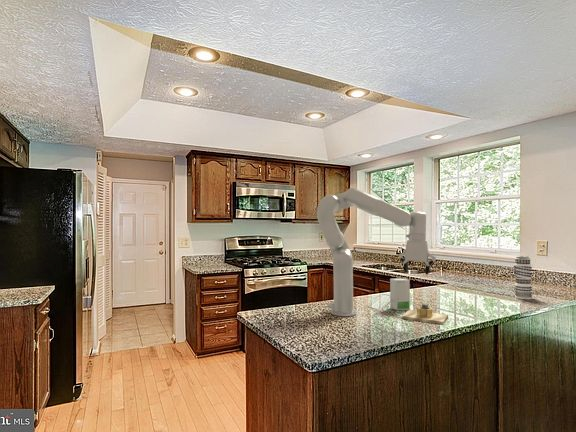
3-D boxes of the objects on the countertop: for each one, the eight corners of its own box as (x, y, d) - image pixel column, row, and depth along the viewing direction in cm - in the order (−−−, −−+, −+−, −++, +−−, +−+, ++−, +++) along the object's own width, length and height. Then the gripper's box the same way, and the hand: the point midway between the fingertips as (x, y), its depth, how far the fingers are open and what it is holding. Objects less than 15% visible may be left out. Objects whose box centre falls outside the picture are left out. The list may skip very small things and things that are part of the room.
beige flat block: (401, 318, 162) (401, 305, 162) (409, 312, 173) (409, 299, 174) (443, 324, 152) (442, 310, 152) (448, 317, 164) (448, 304, 164)
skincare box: (396, 310, 177) (396, 280, 177) (389, 307, 183) (389, 278, 183) (410, 309, 179) (410, 279, 179) (403, 306, 185) (402, 277, 186)
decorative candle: (517, 298, 204) (516, 256, 204) (512, 295, 212) (511, 255, 213) (535, 299, 201) (534, 257, 202) (529, 296, 210) (528, 255, 210)
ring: (416, 315, 162) (415, 308, 162) (419, 312, 167) (419, 305, 167) (430, 317, 158) (430, 310, 158) (433, 314, 164) (433, 307, 164)
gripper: (397, 236, 168) (396, 271, 168) (434, 238, 158) (433, 276, 158) (401, 236, 174) (400, 270, 174) (438, 238, 164) (437, 274, 164)
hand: (416, 273), depth 166 cm, fingers open, 9 cm apart
